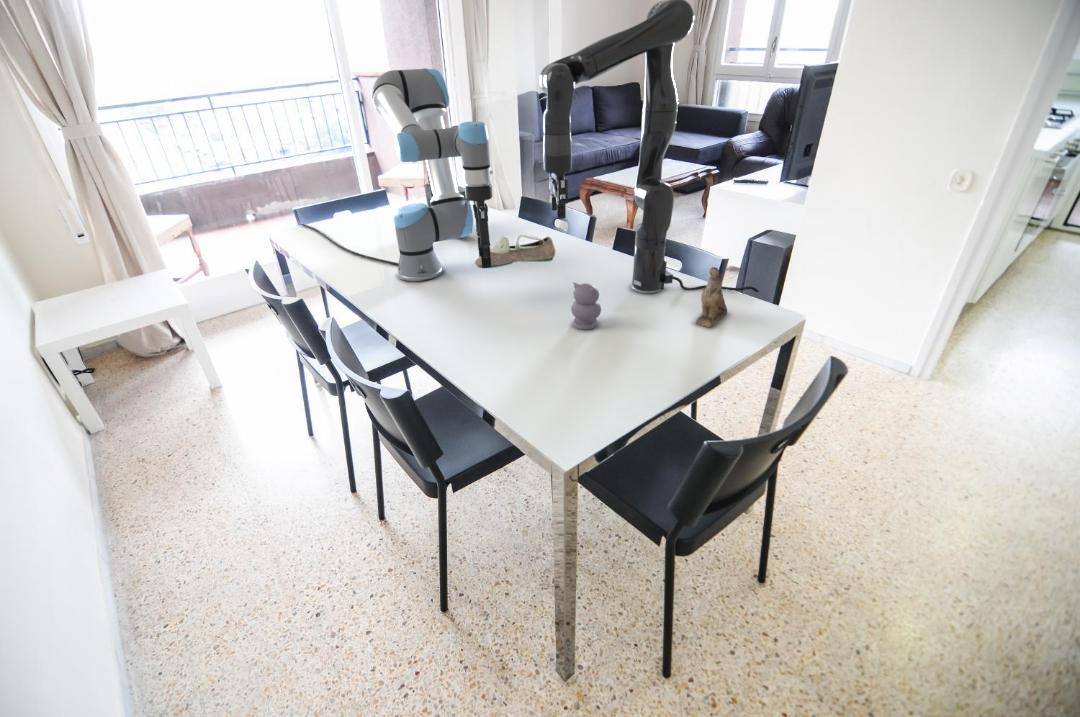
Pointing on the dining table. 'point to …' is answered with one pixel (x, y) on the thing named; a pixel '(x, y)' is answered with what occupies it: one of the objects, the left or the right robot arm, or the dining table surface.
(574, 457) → the dining table surface
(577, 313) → the cat figurine
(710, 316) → the worn brown figurine
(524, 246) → the speckled felt slipper
